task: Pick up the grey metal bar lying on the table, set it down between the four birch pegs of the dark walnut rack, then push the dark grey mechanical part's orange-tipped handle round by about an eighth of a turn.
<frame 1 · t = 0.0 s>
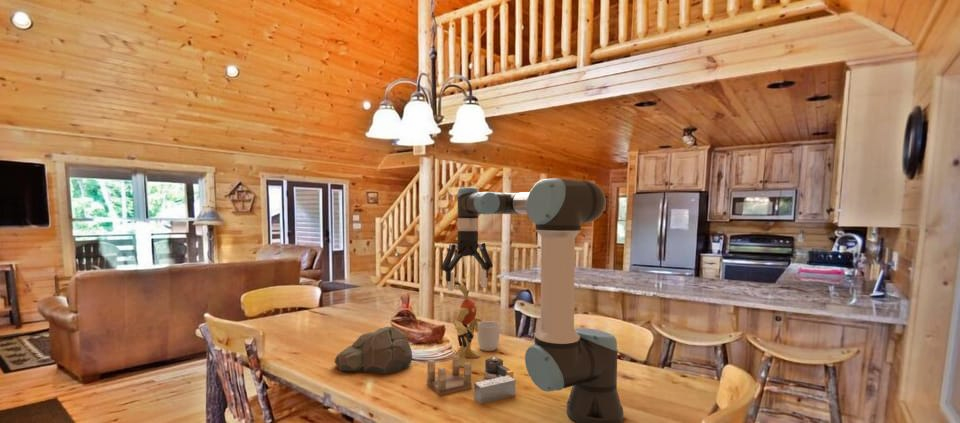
hand: (467, 288, 151), 28 cm above the table, tool pointing down, fingers open, 13 cm apart
nut base: (494, 376, 142), on the table
bar: (494, 397, 126), on the table
toy: (466, 363, 154), on the table
mug: (489, 347, 173), on the table
rack: (449, 385, 134), on the table
dark grey mechanical part: (499, 367, 139), point 4 cm above the table, hinge at 0.0°
decorative rock: (376, 365, 153), on the table
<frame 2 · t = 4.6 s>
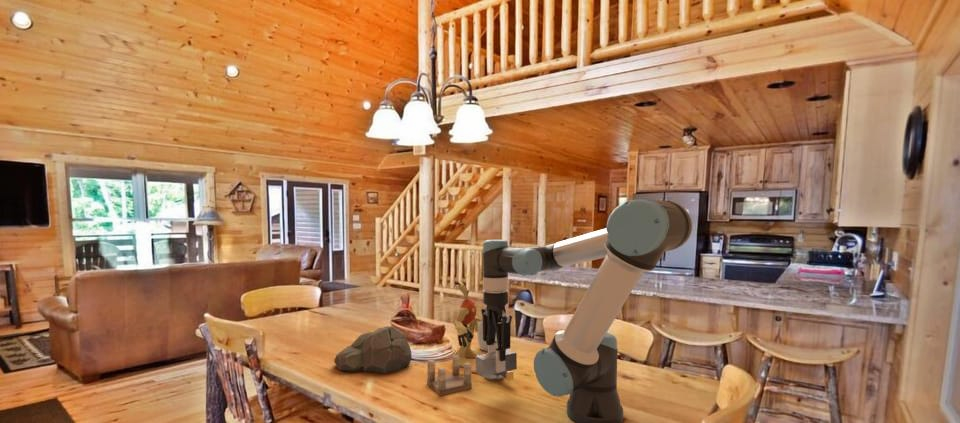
hand: (496, 368, 126), 9 cm above the table, tool pointing down, fingers closed on bar, 4 cm apart
bar: (496, 370, 126), point 8 cm above the table, touching gripper
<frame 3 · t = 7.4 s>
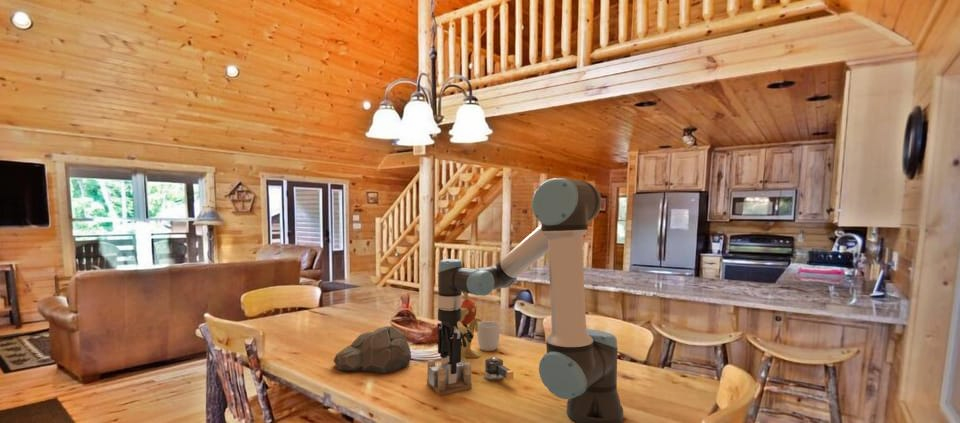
hand: (448, 380, 134), 2 cm above the table, tool pointing down, fingers closed on bar, 4 cm apart
bar: (448, 381, 134), point 1 cm above the table, touching gripper, rack
everything else where it was.
when the fingers open (2 cm above the table, at t = 7.4 s): bar stays where it is, resting on rack.
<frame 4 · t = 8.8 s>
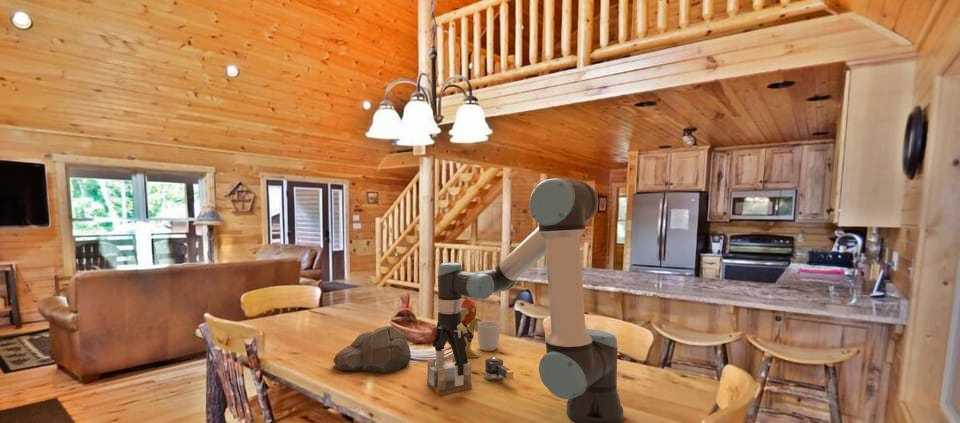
hand: (449, 377, 134), 3 cm above the table, tool pointing down, fingers open, 13 cm apart
bar: (448, 381, 134), point 1 cm above the table, touching rack
everything else where it was.
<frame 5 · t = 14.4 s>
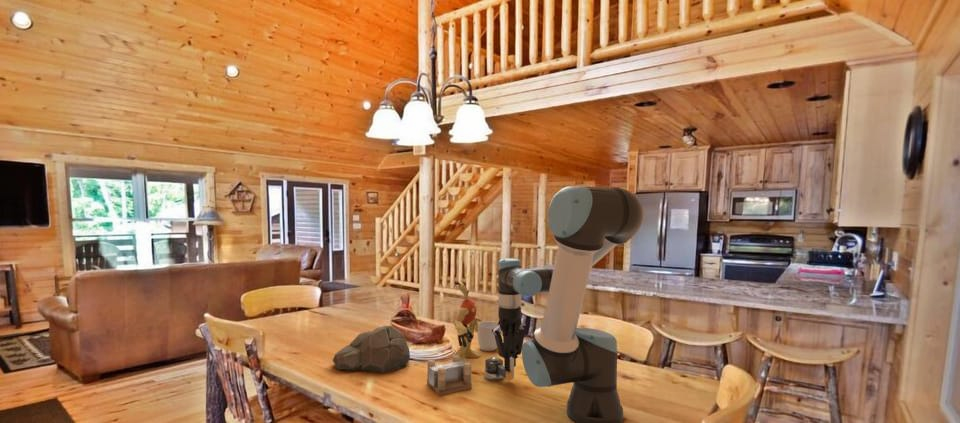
hand: (510, 377, 138), 2 cm above the table, tool pointing down, fingers closed
dark grey mechanical part: (499, 367, 139), point 4 cm above the table, hinge at 1.0°, touching gripper
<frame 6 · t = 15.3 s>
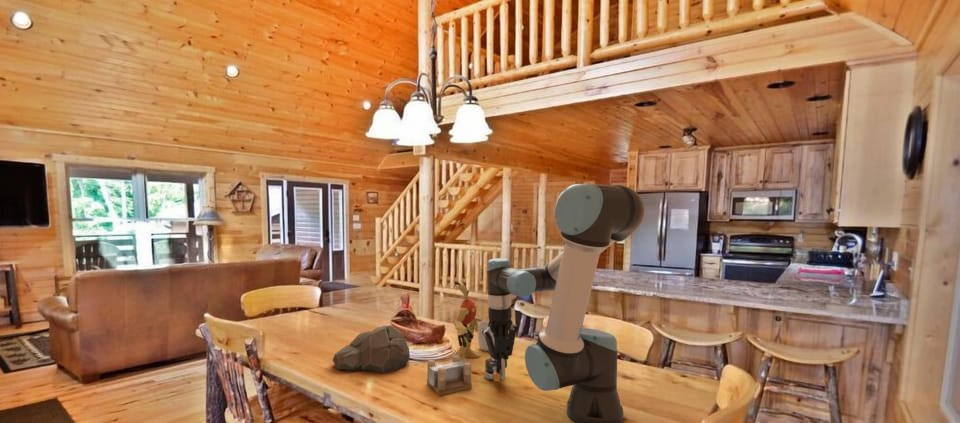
hand: (501, 378, 136), 2 cm above the table, tool pointing down, fingers closed
dark grey mechanical part: (495, 367, 138), point 4 cm above the table, hinge at 27.6°, touching gripper
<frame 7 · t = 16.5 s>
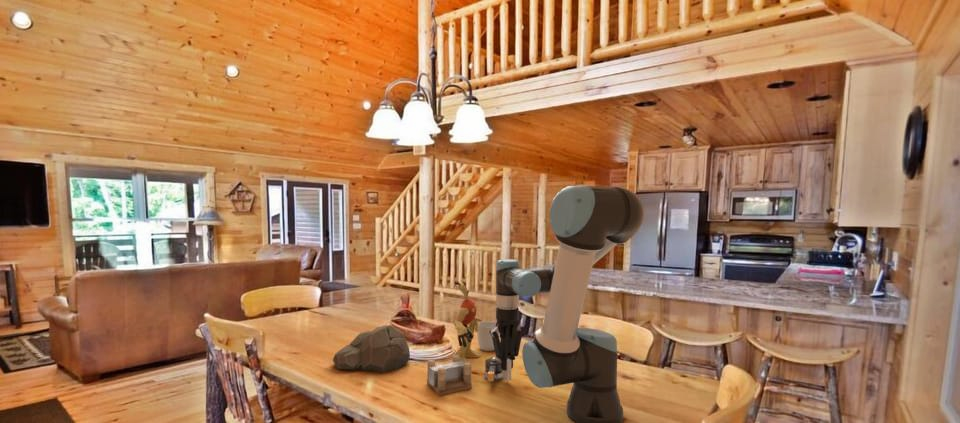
hand: (507, 379, 137), 1 cm above the table, tool pointing down, fingers closed
dark grey mechanical part: (493, 367, 138), point 4 cm above the table, hinge at 38.8°
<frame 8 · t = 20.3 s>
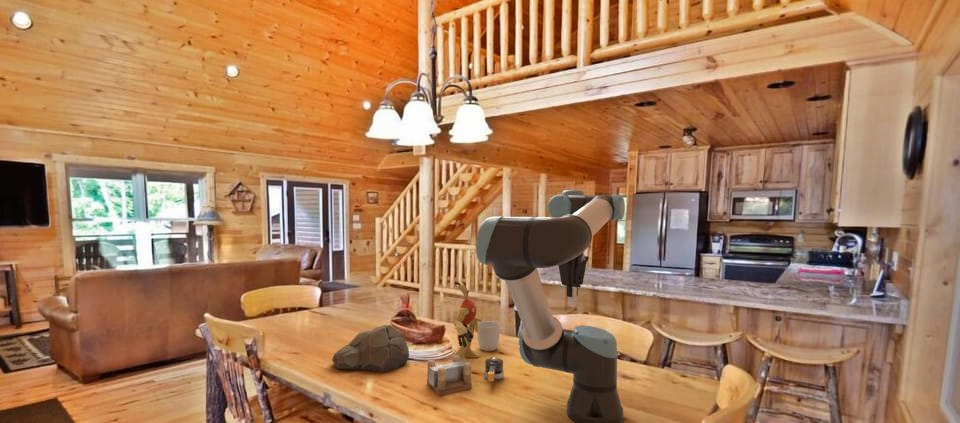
hand: (572, 306, 141), 24 cm above the table, tool pointing down, fingers closed
dark grey mechanical part: (493, 367, 138), point 4 cm above the table, hinge at 38.4°
at the end: bar 0.1 cm off-centre on the rack, point 1.5 cm above the rack's base; bar tilted 0°; dark grey mechanical part at +38° (first picture: +0°) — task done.
